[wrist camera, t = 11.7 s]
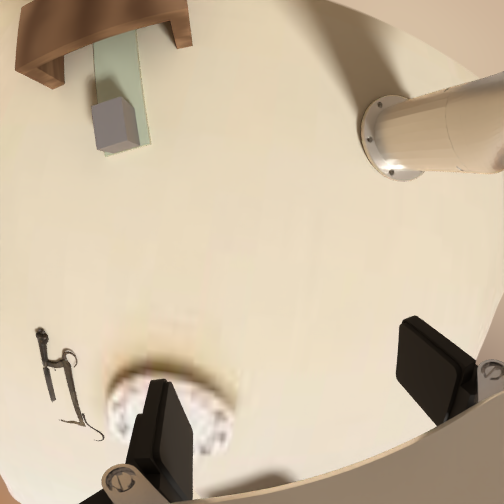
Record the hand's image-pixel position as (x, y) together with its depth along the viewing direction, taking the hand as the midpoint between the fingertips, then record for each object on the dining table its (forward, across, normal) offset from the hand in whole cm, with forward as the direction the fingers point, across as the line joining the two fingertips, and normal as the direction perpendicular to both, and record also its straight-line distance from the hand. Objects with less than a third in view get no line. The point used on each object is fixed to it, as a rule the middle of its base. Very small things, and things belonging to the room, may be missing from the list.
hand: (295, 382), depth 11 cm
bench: (+28, +11, -31) cm, 43 cm away
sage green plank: (+29, +11, -25) cm, 40 cm away
